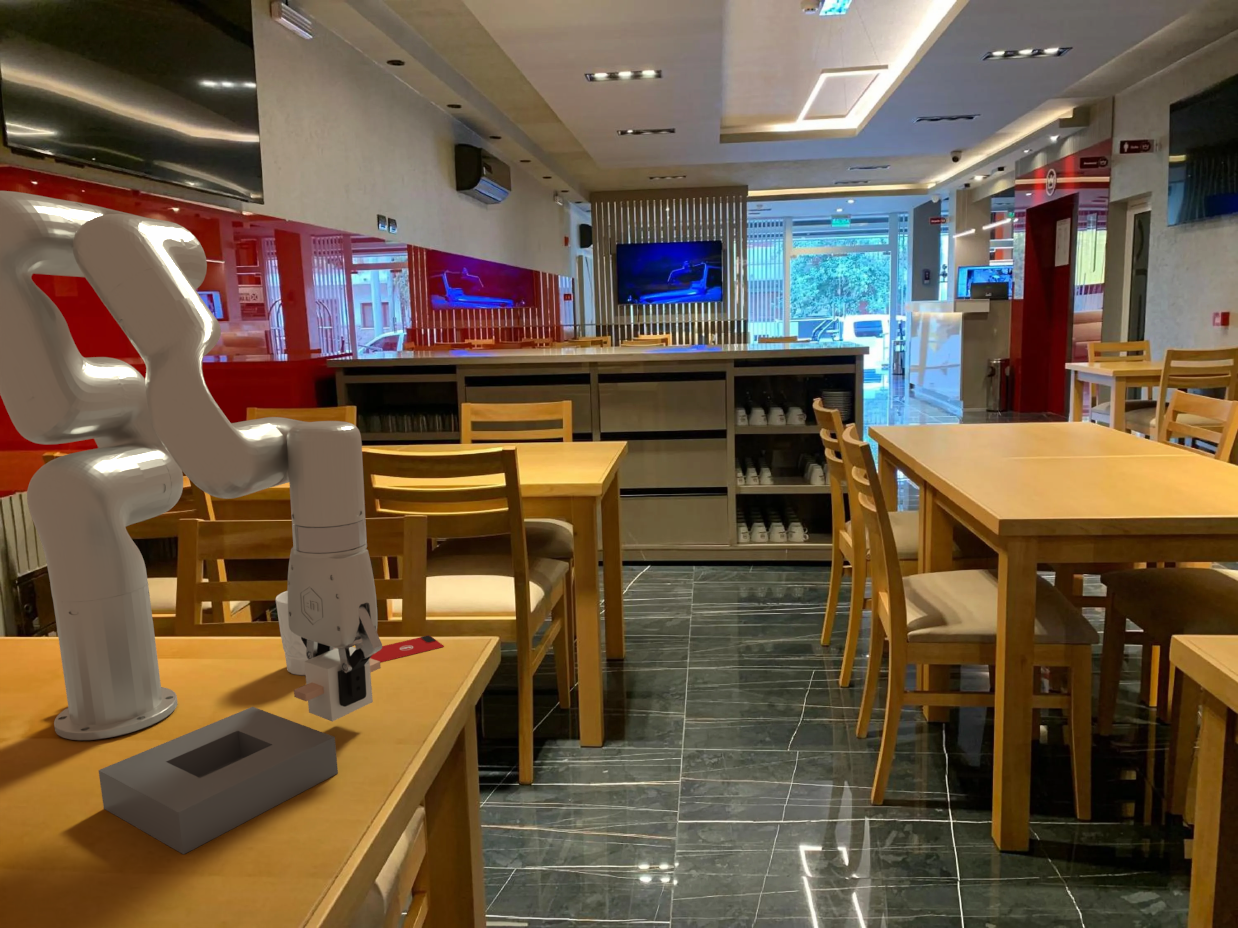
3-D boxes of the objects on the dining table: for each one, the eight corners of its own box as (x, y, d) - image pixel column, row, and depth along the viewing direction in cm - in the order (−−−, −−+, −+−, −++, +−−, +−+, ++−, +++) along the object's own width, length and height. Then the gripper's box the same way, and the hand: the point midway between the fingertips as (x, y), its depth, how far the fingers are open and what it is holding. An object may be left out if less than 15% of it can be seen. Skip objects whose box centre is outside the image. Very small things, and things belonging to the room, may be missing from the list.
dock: (103, 808, 83) (98, 769, 82) (256, 740, 96) (252, 706, 95) (183, 854, 75) (178, 812, 74) (337, 772, 88) (334, 736, 87)
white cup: (300, 654, 121) (294, 584, 119) (354, 655, 120) (348, 585, 118) (271, 676, 113) (263, 603, 112) (328, 678, 112) (321, 603, 111)
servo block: (291, 720, 94) (286, 668, 93) (365, 686, 102) (361, 638, 101) (314, 730, 92) (309, 676, 91) (388, 694, 100) (384, 645, 99)
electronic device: (337, 675, 114) (445, 649, 122) (337, 672, 114) (444, 645, 122) (325, 662, 119) (429, 638, 127) (324, 658, 119) (429, 634, 127)
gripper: (252, 533, 96) (264, 690, 98) (352, 555, 86) (361, 728, 89) (311, 520, 102) (320, 669, 105) (410, 540, 92) (416, 702, 95)
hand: (339, 694), depth 97 cm, fingers closed on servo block, 4 cm apart
